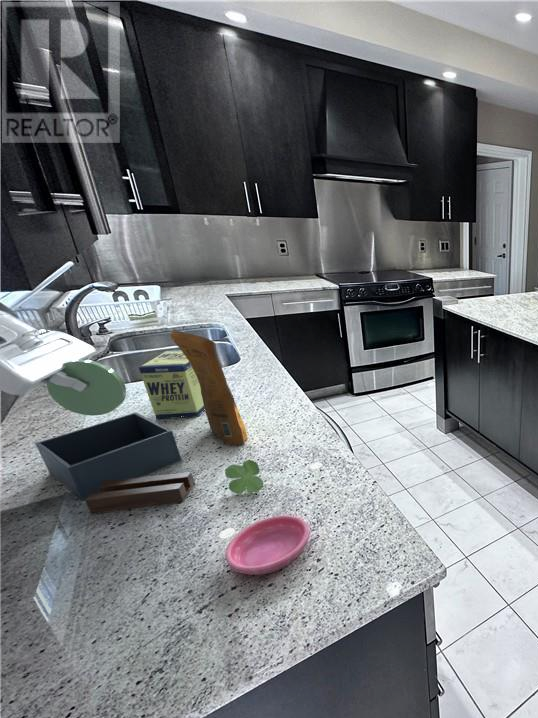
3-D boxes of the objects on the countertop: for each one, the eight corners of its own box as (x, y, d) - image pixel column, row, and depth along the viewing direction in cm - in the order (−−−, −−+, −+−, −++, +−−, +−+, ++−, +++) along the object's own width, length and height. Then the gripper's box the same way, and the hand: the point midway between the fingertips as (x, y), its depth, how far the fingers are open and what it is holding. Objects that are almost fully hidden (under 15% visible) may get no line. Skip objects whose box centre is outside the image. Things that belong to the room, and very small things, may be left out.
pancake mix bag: (227, 454, 97) (196, 343, 86) (197, 429, 108) (166, 327, 97) (257, 443, 102) (231, 336, 92) (225, 420, 113) (199, 322, 102)
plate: (131, 412, 86) (111, 359, 81) (60, 418, 83) (35, 363, 78) (134, 410, 87) (115, 357, 82) (64, 415, 84) (40, 361, 79)
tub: (83, 500, 81) (67, 468, 78) (49, 474, 88) (34, 443, 85) (181, 459, 95) (172, 430, 92) (146, 439, 102) (136, 412, 99)
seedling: (257, 499, 90) (247, 503, 84) (227, 478, 89) (214, 480, 83) (281, 473, 92) (273, 475, 86) (252, 452, 91) (241, 452, 85)
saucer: (305, 574, 66) (302, 560, 65) (218, 590, 63) (213, 575, 62) (316, 522, 77) (313, 509, 76) (242, 534, 74) (238, 520, 73)
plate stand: (183, 502, 81) (178, 488, 80) (90, 514, 77) (84, 500, 76) (195, 484, 87) (191, 471, 85) (109, 494, 82) (103, 481, 81)
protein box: (155, 419, 111) (137, 367, 105) (183, 396, 125) (168, 348, 119) (198, 417, 114) (183, 365, 108) (221, 394, 128) (208, 347, 122)
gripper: (38, 338, 86) (110, 377, 92) (-54, 372, 68) (44, 418, 74) (56, 316, 85) (128, 358, 91) (-32, 345, 67) (65, 394, 73)
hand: (90, 385), depth 83 cm, fingers closed on plate, 1 cm apart
